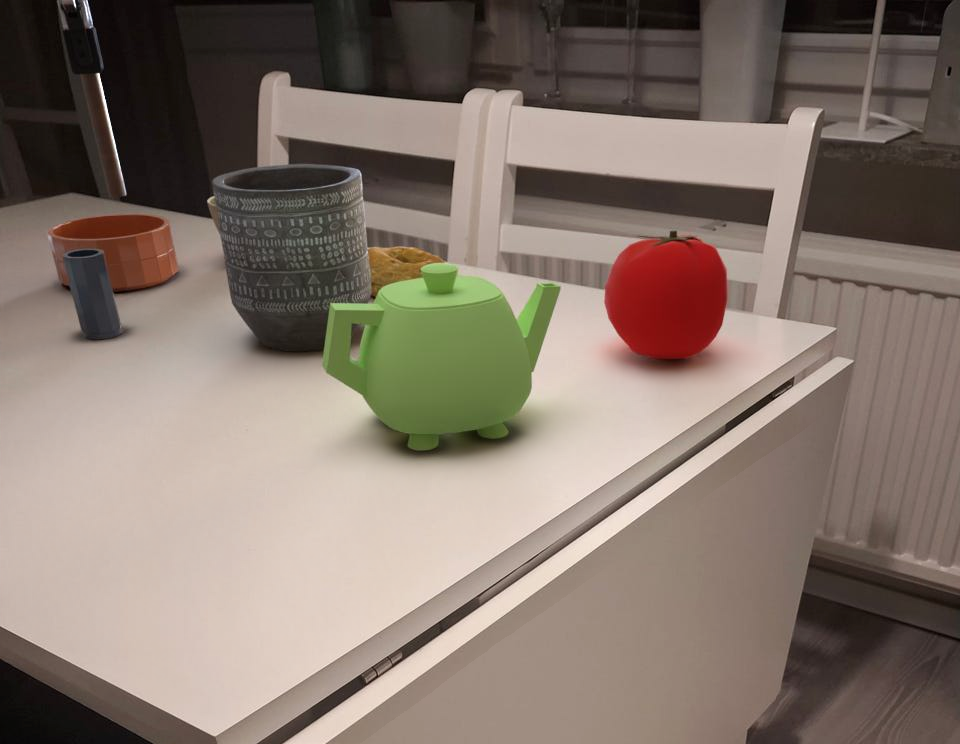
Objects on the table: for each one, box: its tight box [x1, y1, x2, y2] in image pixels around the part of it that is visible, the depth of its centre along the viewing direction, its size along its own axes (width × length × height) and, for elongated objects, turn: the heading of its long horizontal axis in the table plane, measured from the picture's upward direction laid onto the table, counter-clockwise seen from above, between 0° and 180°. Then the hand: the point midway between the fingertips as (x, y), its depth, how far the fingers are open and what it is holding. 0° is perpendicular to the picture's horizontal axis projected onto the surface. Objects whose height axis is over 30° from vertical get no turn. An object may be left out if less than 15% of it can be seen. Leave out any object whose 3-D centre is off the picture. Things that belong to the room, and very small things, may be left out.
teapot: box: [321, 262, 562, 451], centre depth 81 cm, size 20×13×13 cm
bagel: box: [367, 245, 446, 298], centre depth 116 cm, size 10×11×5 cm
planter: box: [211, 163, 372, 353], centre depth 100 cm, size 14×14×15 cm
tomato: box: [603, 230, 729, 360], centre depth 95 cm, size 12×12×11 cm
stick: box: [79, 73, 127, 198], centre depth 114 cm, size 2×2×18 cm
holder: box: [62, 249, 123, 341], centre depth 105 cm, size 4×4×8 cm
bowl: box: [46, 213, 179, 293], centre depth 123 cm, size 14×14×6 cm
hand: (88, 70), depth 112 cm, fingers closed on stick, 2 cm apart
